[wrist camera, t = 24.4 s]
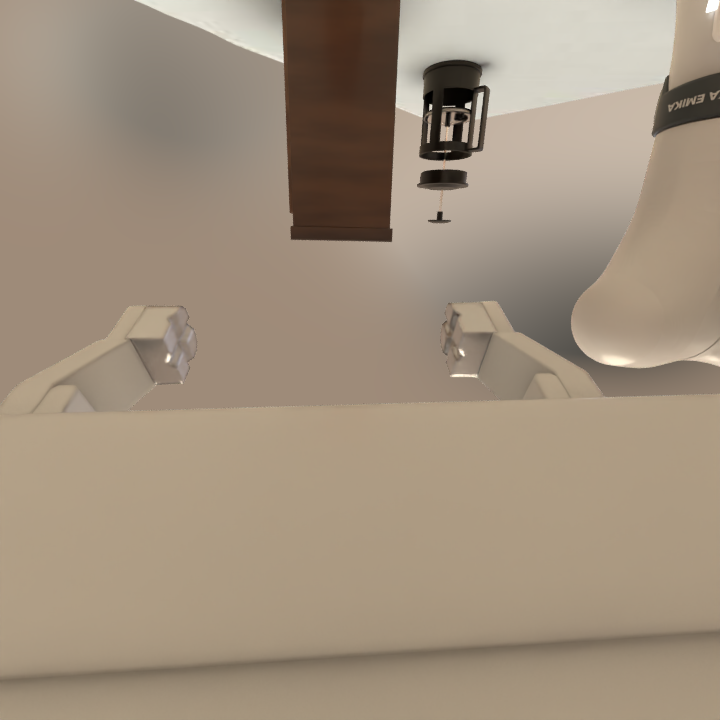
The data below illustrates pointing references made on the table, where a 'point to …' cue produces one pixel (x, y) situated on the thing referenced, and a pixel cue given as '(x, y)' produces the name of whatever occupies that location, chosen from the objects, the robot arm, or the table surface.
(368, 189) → the cabinet
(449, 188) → the french press
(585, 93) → the table surface
